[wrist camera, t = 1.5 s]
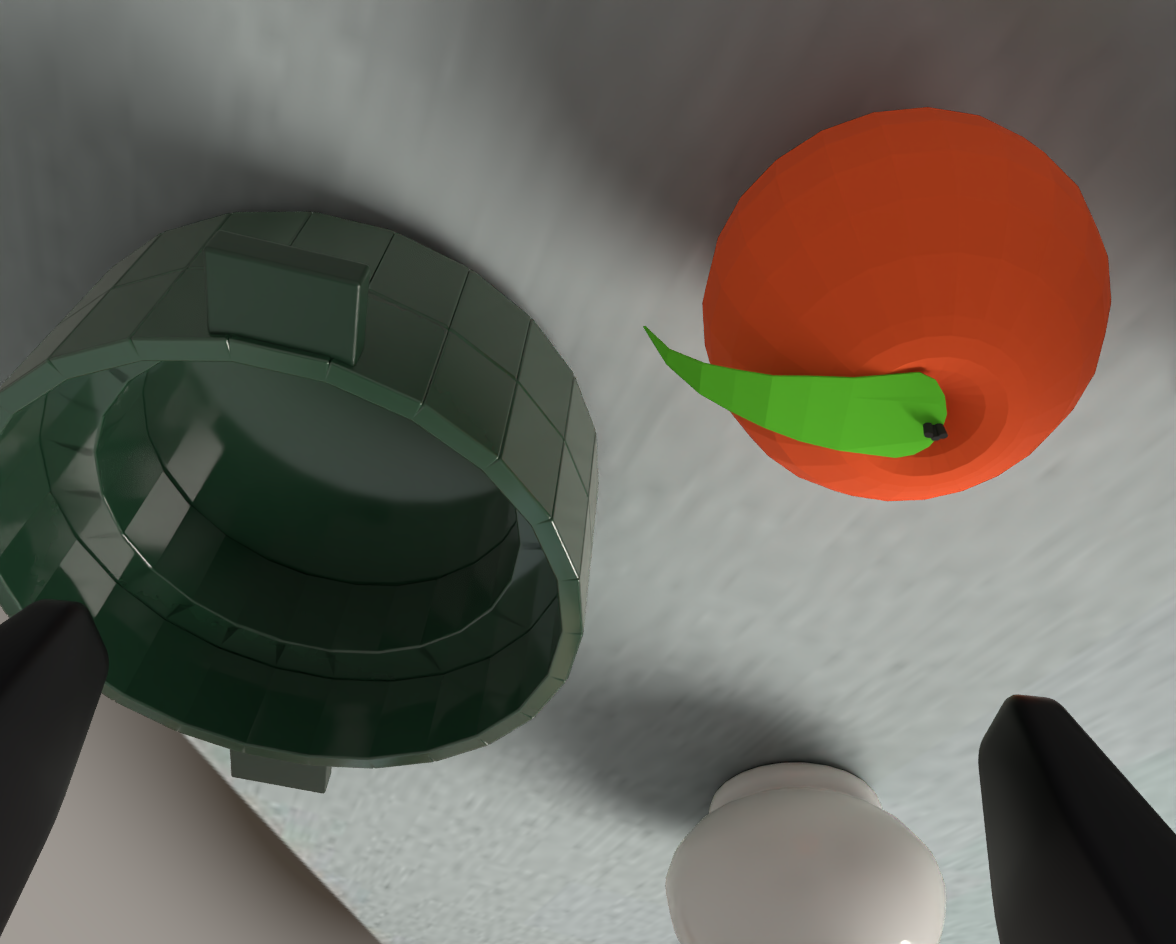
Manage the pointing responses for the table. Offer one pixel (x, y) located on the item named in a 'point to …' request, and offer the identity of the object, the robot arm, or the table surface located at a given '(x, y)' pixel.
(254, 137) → the table surface
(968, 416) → the clementine
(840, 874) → the flower vase
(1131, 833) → the robot arm
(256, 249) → the colander handles
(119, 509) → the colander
